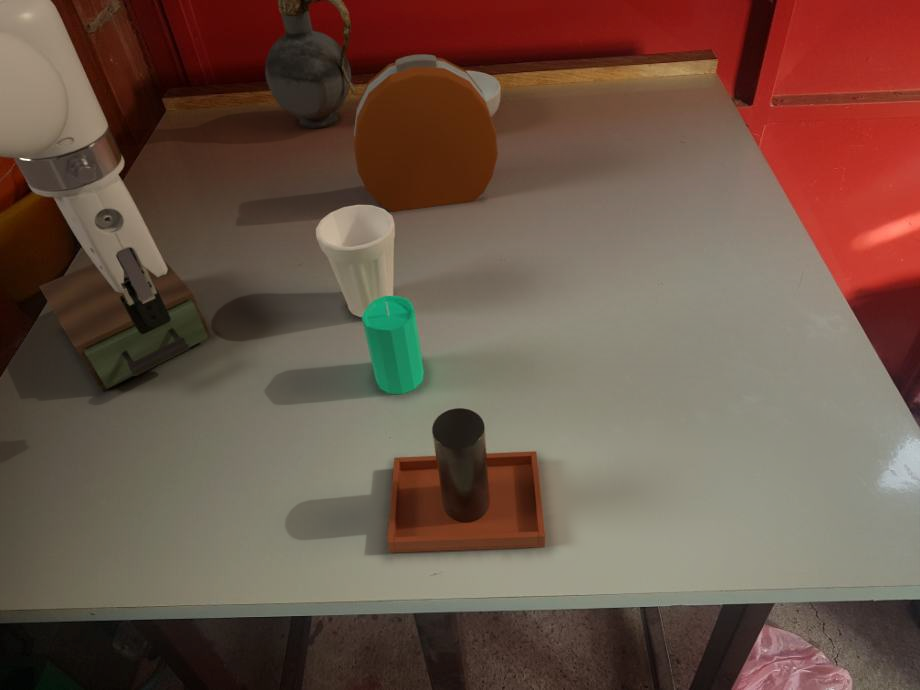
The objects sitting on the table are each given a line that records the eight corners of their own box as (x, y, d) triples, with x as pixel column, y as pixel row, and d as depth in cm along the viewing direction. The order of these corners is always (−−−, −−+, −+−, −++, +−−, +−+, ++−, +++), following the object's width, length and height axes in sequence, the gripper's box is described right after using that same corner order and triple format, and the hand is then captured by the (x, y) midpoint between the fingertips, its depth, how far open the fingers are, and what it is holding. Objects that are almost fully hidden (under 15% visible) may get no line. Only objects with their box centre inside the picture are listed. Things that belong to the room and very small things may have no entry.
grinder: (442, 523, 70) (431, 450, 61) (443, 484, 73) (432, 409, 65) (490, 522, 69) (485, 447, 61) (489, 482, 73) (483, 406, 65)
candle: (405, 352, 89) (392, 278, 80) (434, 377, 85) (423, 302, 77) (366, 375, 86) (349, 301, 78) (394, 402, 83) (379, 327, 74)
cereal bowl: (491, 146, 126) (490, 108, 122) (404, 141, 130) (400, 105, 125) (508, 105, 138) (508, 69, 133) (428, 101, 142) (425, 67, 137)
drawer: (222, 355, 89) (208, 320, 85) (119, 409, 84) (98, 375, 79) (167, 287, 101) (151, 254, 96) (72, 331, 95) (51, 298, 91)
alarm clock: (490, 168, 121) (485, 34, 105) (499, 198, 114) (495, 59, 98) (364, 183, 120) (339, 51, 104) (365, 214, 113) (339, 77, 97)
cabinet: (211, 336, 93) (191, 291, 88) (102, 391, 87) (74, 346, 82) (167, 283, 103) (147, 240, 97) (65, 329, 97) (38, 286, 91)
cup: (367, 339, 91) (349, 259, 82) (320, 308, 96) (298, 229, 87) (421, 301, 96) (410, 221, 87) (374, 273, 101) (359, 195, 92)
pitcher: (301, 104, 145) (263, -57, 125) (380, 115, 139) (354, -52, 118) (270, 127, 138) (225, -39, 118) (352, 140, 132) (320, -33, 111)
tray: (389, 552, 68) (387, 542, 67) (396, 468, 76) (394, 457, 74) (544, 546, 67) (545, 536, 66) (536, 461, 75) (536, 451, 74)
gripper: (147, 173, 54) (219, 344, 67) (87, 114, 63) (161, 274, 75) (48, 211, 51) (144, 382, 63) (0, 143, 60) (93, 305, 72)
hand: (153, 323), depth 69 cm, fingers closed
